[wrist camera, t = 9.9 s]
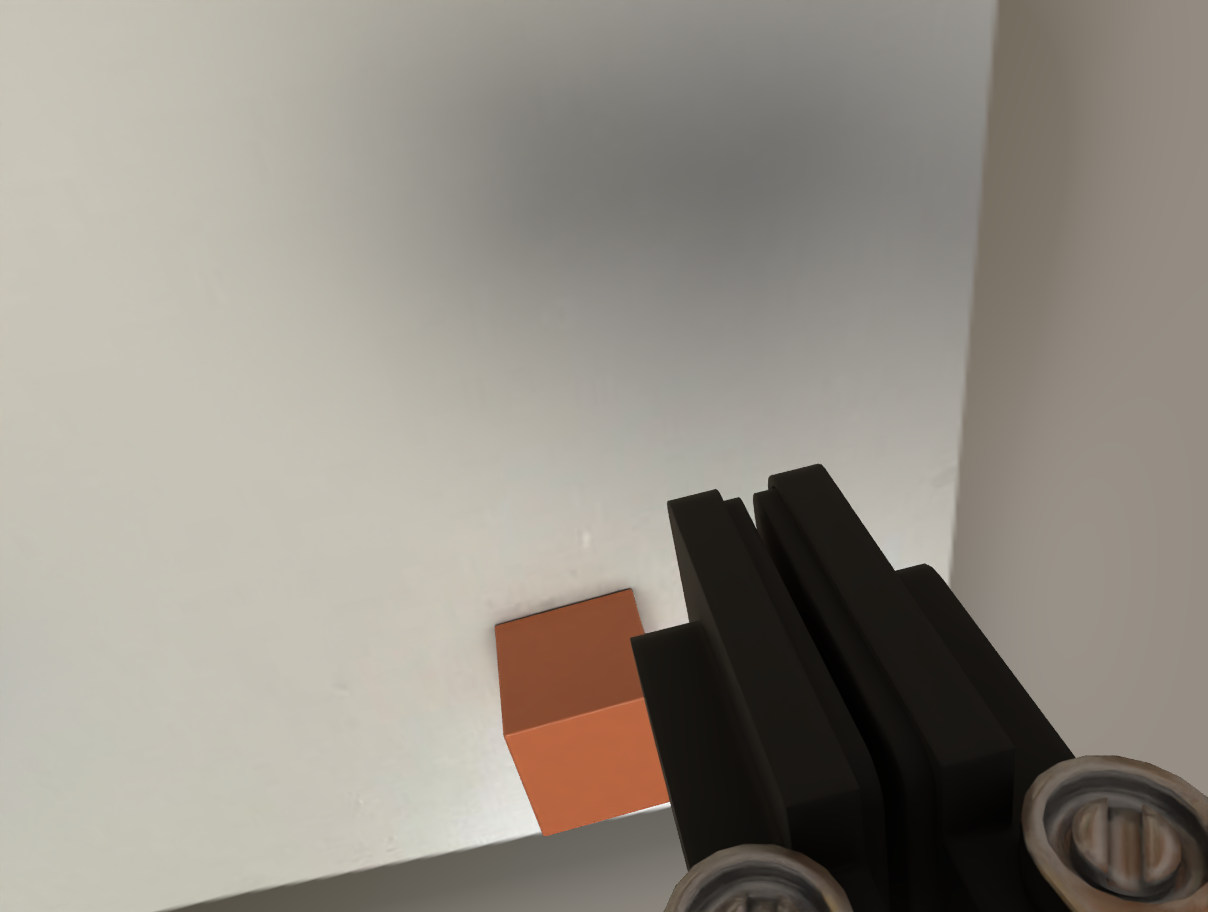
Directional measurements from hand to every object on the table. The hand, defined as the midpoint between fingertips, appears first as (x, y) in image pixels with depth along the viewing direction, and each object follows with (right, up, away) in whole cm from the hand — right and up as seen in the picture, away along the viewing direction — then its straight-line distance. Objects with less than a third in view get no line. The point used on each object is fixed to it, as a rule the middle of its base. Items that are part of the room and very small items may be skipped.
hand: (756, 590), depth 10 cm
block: (-3, -6, +23) cm, 24 cm away
